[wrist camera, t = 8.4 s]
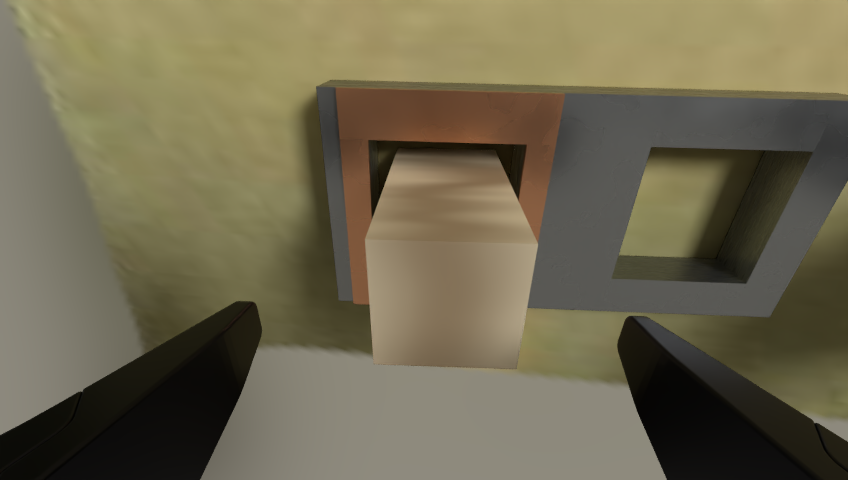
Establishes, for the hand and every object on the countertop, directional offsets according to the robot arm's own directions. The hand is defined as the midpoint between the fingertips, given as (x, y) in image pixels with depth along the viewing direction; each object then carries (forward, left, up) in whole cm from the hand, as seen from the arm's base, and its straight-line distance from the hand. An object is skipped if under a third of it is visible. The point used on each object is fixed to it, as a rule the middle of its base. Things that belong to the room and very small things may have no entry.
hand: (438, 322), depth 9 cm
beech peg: (0, 0, -8) cm, 9 cm away
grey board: (-5, 0, -8) cm, 10 cm away
